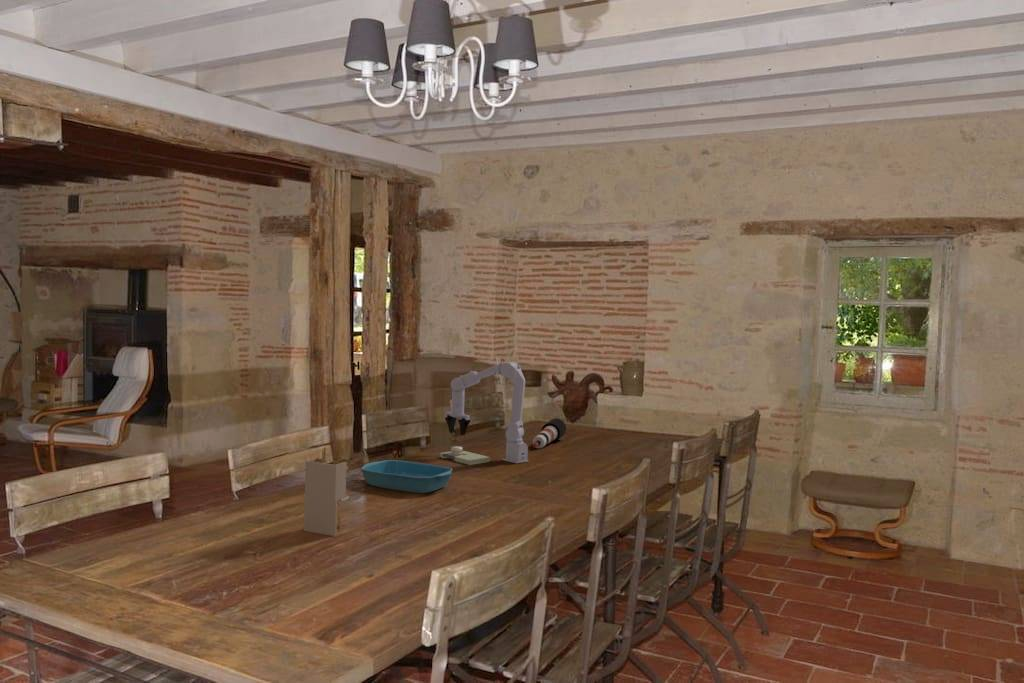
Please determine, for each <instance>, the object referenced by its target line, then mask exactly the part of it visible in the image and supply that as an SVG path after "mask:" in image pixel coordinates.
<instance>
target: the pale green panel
mask: <svg viewBox="0 0 1024 683" xmlns="http://www.w3.org/2000/svg"><path fill="white" fill-rule="evenodd" d="M440 457H441V459H445V458H446V457H447V458H450V459H451V458H453V459H452V460H454V462H456V463H459V464H460V463H461V464H465V465H468V466H472V465H478V464H484V463H489V462H491V457H490V456H487V455H482V454H478V453H475V452H474V453H473V452H470V451H466V450H462V456H452V455H451V450H450V451H445V452H439V458H440Z"/></svg>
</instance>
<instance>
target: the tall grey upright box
mask: <svg viewBox="0 0 1024 683" xmlns="http://www.w3.org/2000/svg"><path fill="white" fill-rule="evenodd" d="M326 455H327V447H324V449H323V450H322V451H321V458H319V457H320V456H319V455H318V456H317V457H316V458H311V459H308V460H305V464H304V465H305V466H304V468H305V469H304V473H305V474H304V511H303V512H304V513H303V514H304V517H303V518H304V520H303V526H304V527H303V531H304V532H308V533H315V534H320V535H325V536H326V535H327V536H331V537H337V536H339V535H340V534H342V530H341V525H342V524H341V522H342V519H341V518H342V516H341V515H339V514H338V506H339V507H341V505H340V503H339V502H343V501H346V500H349V499H350V494H349V495H348V494H347V466H348V465H347V462H346V461H343V462H340V463H336V464H334V463H333V464H332V463H327V462H326V461H327V459H326V457H327V456H326Z"/></svg>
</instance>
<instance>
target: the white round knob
mask: <svg viewBox="0 0 1024 683" xmlns="http://www.w3.org/2000/svg"><path fill="white" fill-rule="evenodd" d="M450 451H451V455H452V456H462V451H463V446H451V447H450ZM450 459H451V460H454V459H453V458H450Z"/></svg>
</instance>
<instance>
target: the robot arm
mask: <svg viewBox="0 0 1024 683" xmlns="http://www.w3.org/2000/svg"><path fill="white" fill-rule="evenodd" d="M495 374H496V375H501V376H503V377H504V378H506V379H508V380H509V381H510V382H511V383H512V385H513V389H512V399H511V410H510V420H509V422H508V425H507V429H506V430H505V432H504V434H505V438H506V443H505V444H506V447H505V449H506V450H505V458H501V461H503V462H510V463H512V464H513V463H514V464H521V463H527V462H529V461H530V460H529V459H528V454H529V450H528V449H529V447H528V444H527V443H525V442H524V440H523V437H524V435H525V429H524V422H523V411H524V402H525V401H524V400H525V392H526V391H525V389H526V378H525V376H524V373H523V371H522V368H521V366H520V365H519V364H518V363H517V362H516V361H512V360H511V361H508V362H503V363H499V364H494V365H492V366H490V367H487V368H486V369H485V368H484V369H483V370H481V371H479V372H478V371H475V370H474V371H473V370H470V371H468V373H466V374H464V375H461V374H460V375H459V377H454V378H453V379H452V380H451V382H450V383H449V384H450V385H449V386H450V388H451V411H445V418H444V420H445V422H446V424H447V427H448V431H449V433H450V434H453V433H455V429H456V428H455V427H456V421H458V424H459V433H460V434H459V435H460V436H465V435H466V432H467V428H468V427H469V425H470V423H471V415H470V414H469V415H468V414H466V413H465V394H466V393H465V389H466V388H469V387H473V386H475V385H478V384H479V383H480V381H481V379H484V378H488V377H490V376H493V375H495ZM457 419H458V420H457Z"/></svg>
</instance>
